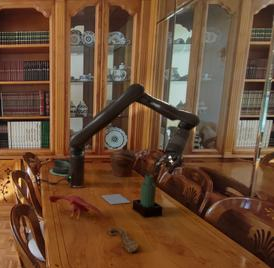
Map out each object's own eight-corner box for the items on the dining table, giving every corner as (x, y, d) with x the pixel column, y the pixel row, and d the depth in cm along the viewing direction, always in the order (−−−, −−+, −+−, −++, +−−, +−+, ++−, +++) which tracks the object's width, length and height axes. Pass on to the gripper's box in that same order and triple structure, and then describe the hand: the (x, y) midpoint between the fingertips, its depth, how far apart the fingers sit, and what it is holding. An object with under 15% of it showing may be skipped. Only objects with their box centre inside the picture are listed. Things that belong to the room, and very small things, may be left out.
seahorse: (119, 229, 97) (119, 225, 96) (142, 252, 82) (142, 247, 82) (106, 231, 96) (106, 227, 95) (128, 255, 81) (128, 250, 81)
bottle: (145, 215, 108) (147, 178, 105) (137, 209, 114) (139, 174, 111) (156, 214, 109) (159, 177, 106) (148, 208, 115) (150, 173, 112)
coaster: (111, 204, 120) (111, 204, 119) (101, 196, 130) (101, 195, 130) (130, 202, 121) (131, 202, 121) (119, 194, 132) (119, 193, 132)
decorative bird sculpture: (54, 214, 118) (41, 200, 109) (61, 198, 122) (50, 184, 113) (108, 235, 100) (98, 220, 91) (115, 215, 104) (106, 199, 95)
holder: (144, 217, 106) (144, 208, 106) (132, 208, 115) (133, 199, 114) (161, 215, 108) (162, 206, 107) (148, 207, 117) (149, 198, 116)
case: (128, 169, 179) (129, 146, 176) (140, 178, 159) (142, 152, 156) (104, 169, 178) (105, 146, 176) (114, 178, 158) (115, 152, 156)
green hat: (79, 168, 180) (75, 177, 161) (58, 177, 187) (52, 186, 168) (70, 151, 180) (65, 157, 161) (49, 160, 187) (42, 168, 168)
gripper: (159, 143, 125) (145, 167, 121) (183, 141, 112) (169, 168, 107) (169, 152, 126) (155, 176, 122) (193, 150, 113) (179, 178, 108)
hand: (162, 172), depth 115 cm, fingers open, 8 cm apart
